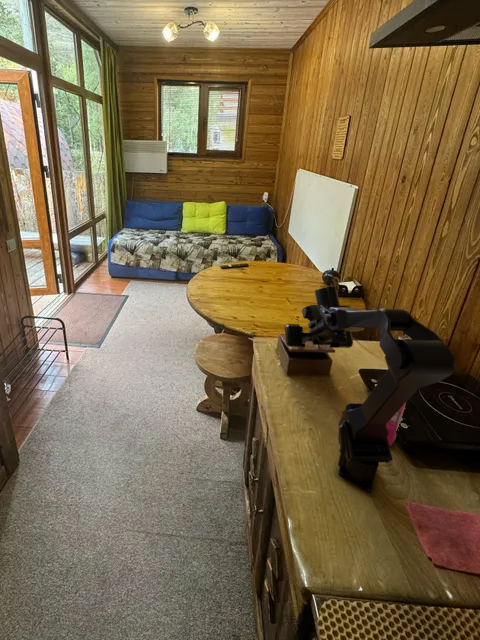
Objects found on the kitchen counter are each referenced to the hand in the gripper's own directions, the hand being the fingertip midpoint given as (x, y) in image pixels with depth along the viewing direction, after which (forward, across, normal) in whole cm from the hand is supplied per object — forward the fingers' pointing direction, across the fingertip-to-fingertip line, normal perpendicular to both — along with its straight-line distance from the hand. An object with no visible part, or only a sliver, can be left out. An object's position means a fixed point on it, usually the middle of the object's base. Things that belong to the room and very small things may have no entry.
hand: (308, 342), depth 97 cm
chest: (+9, 0, +5) cm, 10 cm away
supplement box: (-9, -11, +25) cm, 29 cm away
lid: (+3, 0, 0) cm, 3 cm away
